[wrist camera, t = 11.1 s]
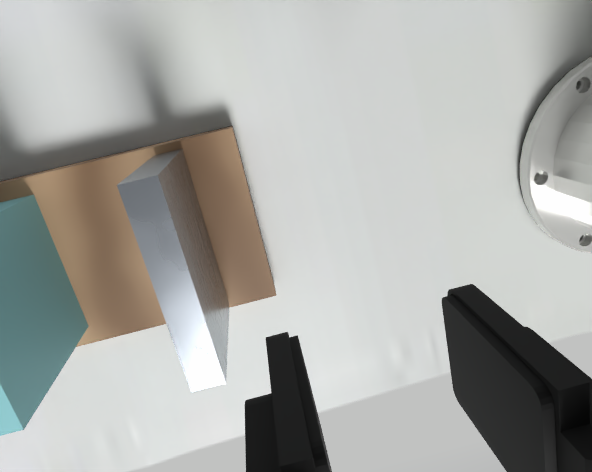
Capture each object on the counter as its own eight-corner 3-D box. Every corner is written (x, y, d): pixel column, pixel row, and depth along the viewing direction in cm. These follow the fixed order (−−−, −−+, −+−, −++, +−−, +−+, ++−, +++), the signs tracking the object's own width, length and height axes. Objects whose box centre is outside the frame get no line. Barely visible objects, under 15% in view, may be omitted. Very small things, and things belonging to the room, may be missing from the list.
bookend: (182, 148, 24) (157, 175, 17) (229, 303, 27) (225, 383, 20) (153, 155, 24) (116, 185, 17) (204, 309, 27) (191, 392, 20)
